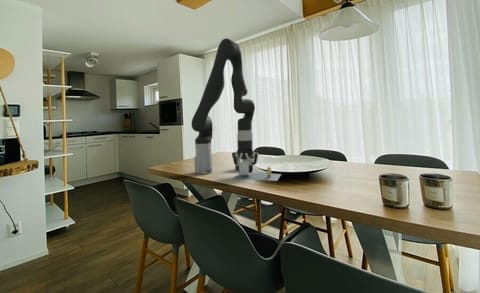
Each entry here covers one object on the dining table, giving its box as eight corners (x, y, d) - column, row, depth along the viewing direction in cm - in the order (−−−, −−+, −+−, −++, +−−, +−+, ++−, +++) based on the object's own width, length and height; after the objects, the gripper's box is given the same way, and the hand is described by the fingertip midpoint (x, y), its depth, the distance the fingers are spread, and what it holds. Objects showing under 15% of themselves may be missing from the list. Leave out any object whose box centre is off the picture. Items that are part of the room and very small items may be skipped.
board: (232, 181, 117) (232, 168, 116) (240, 175, 130) (240, 163, 129) (277, 183, 110) (277, 170, 109) (281, 176, 123) (281, 164, 122)
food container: (255, 170, 142) (254, 153, 141) (254, 172, 136) (254, 155, 135) (234, 170, 143) (234, 153, 142) (233, 172, 137) (232, 155, 136)
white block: (239, 174, 120) (238, 162, 119) (242, 172, 124) (241, 161, 124) (248, 175, 118) (248, 163, 118) (251, 172, 123) (251, 161, 122)
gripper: (228, 139, 118) (229, 173, 120) (256, 140, 114) (257, 174, 116) (233, 138, 125) (234, 170, 127) (260, 138, 121) (260, 171, 123)
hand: (245, 172), depth 121 cm, fingers closed on white block, 5 cm apart
